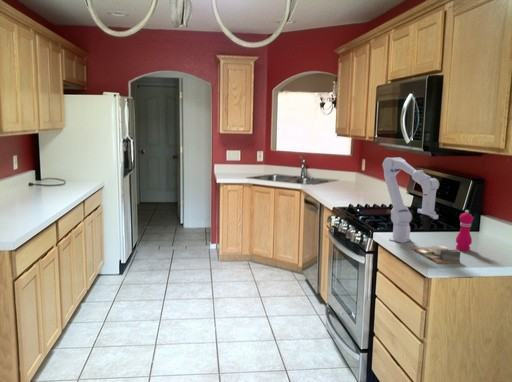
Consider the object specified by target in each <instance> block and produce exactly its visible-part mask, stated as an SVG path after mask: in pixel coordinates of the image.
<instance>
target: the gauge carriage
mask: <svg viewBox="0 0 512 382" xmlns="http://www.w3.org/2000/svg"><path fill="white" fill-rule="evenodd" d="M431 247H432V250H431V252H426V253H427V254H432V253H434V254H436V255H440V252H441V250H449V248H448V247H446V246H444V245H434V246H431Z"/></svg>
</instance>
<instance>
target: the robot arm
mask: <svg viewBox="0 0 512 382" xmlns="http://www.w3.org/2000/svg"><path fill="white" fill-rule="evenodd" d="M381 165H382V169H383V176H384V177H383V178H384V180H385V184H386V187H387V192H388V195H389V198H390V201H391V205H392V209H391V210H390V219H391V222H392V224H393V226H392V227H393V228H392V237H391V238H389V241H392V242H397V243H402V244H405V243H407V242H409V241H411V240H412V238H410V235H411V226H410V223H411V221H412V220H413V214H412V213H411V211H410V210H409V207H408V206H406V205H405V204H404V202H403V201H404V200H403V196H402V193H401V191H400V190H401V189H400V187H399V184H398V181H397V177H396V176H397V175H398V174H399V172H401V170H402V171H403V172H405V173H407V174H408V175H410V176H411V178H412V180H413V181H415V183H417V184H419V186H421V189H422V202H421V208H417V213H418V214H421V215H419V218H420V220H421V224H422V230H423V231H429V230H430V227H431V225H432V223H433V221H434V220H438V219H439V214H437V212H436V211H435V206H436V195H437V194H436V193H437V191H438V189H439V187H440V182H439V180H438V179H437V178H435V177H431V176H430V175H428V174H426V173H425V172H424V170H423V169H418V170H417V169H415V168H414V167H413V166H412V165H411V164H409V163H408V162H407V161H406V159H404V158H402V157H385V158H384V160H383V162H382V164H381Z"/></svg>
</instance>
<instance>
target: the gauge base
mask: <svg viewBox="0 0 512 382" xmlns="http://www.w3.org/2000/svg"><path fill="white" fill-rule="evenodd" d="M411 250H412V251H413V250H414V251H413V252H416V253H417V254H419V255H421V256H422V255H423V257H425V259H428V260H430V261H432V262H433V263H436V264H457V263H458V264H459V263H461V250H457V249H448V250H441V252H440V255H436V254H434V253H432V254H427V253H426V252H431V250H432V246H424V247H423V246H420V247H418V246H417V247H411Z"/></svg>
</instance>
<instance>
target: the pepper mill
mask: <svg viewBox="0 0 512 382" xmlns="http://www.w3.org/2000/svg"><path fill="white" fill-rule="evenodd" d="M469 212H470V210H468V209H466V210H465V211H464V212H463V213H461V214H460V215H459V221H460V224H459V225H460V229H459V233H457V235H456V237H455V243H456V245H455V250H458V251H460V252H461V251H462V252H469V251H470V249H471V246H470V245H471V244H472V242H473V240H472V235H471V232H470V229H471V227H472V222H473V220H474V217H473V215H472V214H471V213H469Z"/></svg>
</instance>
